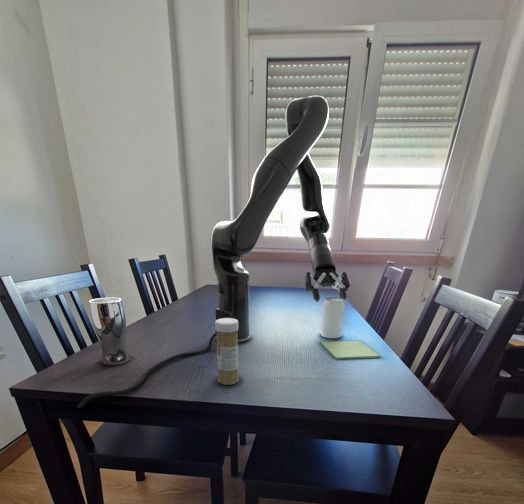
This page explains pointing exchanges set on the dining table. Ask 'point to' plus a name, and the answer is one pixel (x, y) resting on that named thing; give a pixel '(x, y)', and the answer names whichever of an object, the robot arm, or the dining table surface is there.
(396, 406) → the dining table surface
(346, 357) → the can mat
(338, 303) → the can
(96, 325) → the beer glass
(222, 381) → the sprinkles bottle
